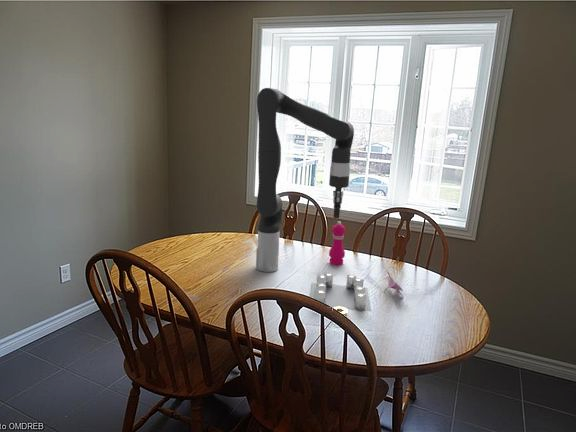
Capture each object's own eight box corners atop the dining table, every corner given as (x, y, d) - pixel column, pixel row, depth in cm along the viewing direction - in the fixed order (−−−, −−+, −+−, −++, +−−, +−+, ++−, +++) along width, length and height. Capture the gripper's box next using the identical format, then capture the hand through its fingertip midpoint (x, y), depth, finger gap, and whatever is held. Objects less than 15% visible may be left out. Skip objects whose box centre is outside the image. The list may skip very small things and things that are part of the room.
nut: (332, 319, 134) (333, 312, 134) (332, 312, 139) (333, 305, 139) (346, 321, 134) (347, 314, 133) (346, 313, 139) (347, 307, 138)
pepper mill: (343, 266, 185) (347, 224, 180) (327, 264, 186) (330, 222, 182) (344, 261, 192) (348, 220, 187) (329, 259, 193) (332, 218, 188)
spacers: (314, 306, 143) (315, 293, 141) (316, 283, 162) (317, 271, 161) (365, 311, 141) (366, 298, 140) (361, 287, 161) (362, 275, 160)
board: (305, 324, 132) (305, 321, 132) (311, 285, 163) (311, 282, 163) (374, 331, 130) (374, 328, 130) (366, 290, 161) (367, 287, 161)
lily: (399, 307, 150) (413, 285, 150) (371, 290, 152) (384, 268, 152) (397, 303, 162) (410, 282, 161) (371, 287, 164) (383, 266, 164)
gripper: (330, 171, 164) (327, 213, 168) (329, 176, 151) (326, 221, 156) (348, 172, 163) (345, 214, 168) (350, 177, 151) (346, 222, 155)
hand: (336, 217), depth 162 cm, fingers closed
